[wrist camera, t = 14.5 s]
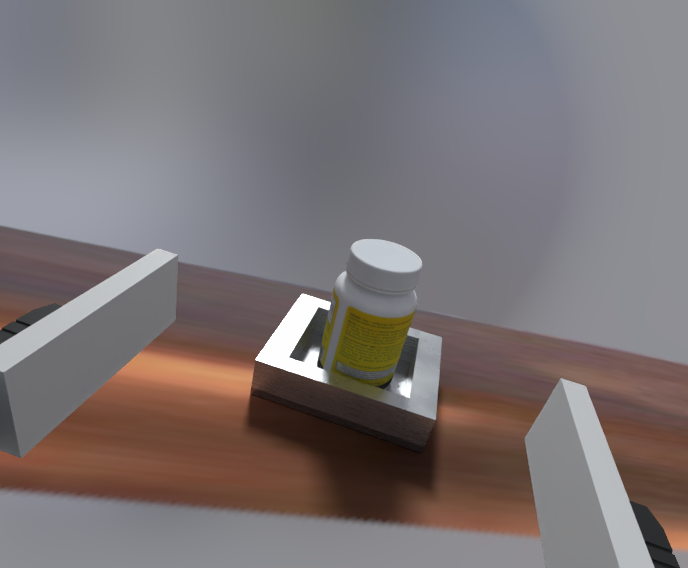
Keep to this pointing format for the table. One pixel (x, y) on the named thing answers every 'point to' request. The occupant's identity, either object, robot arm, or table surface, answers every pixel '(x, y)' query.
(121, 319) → the robot arm
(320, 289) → the table surface
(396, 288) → the supplement bottle
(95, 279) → the table surface
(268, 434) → the table surface
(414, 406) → the rectangular metal tray
